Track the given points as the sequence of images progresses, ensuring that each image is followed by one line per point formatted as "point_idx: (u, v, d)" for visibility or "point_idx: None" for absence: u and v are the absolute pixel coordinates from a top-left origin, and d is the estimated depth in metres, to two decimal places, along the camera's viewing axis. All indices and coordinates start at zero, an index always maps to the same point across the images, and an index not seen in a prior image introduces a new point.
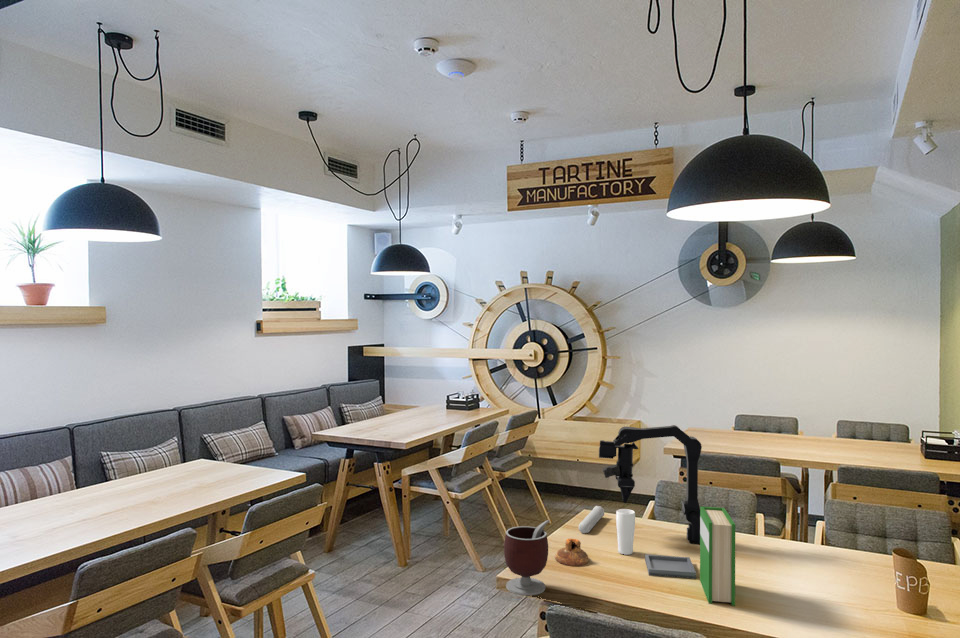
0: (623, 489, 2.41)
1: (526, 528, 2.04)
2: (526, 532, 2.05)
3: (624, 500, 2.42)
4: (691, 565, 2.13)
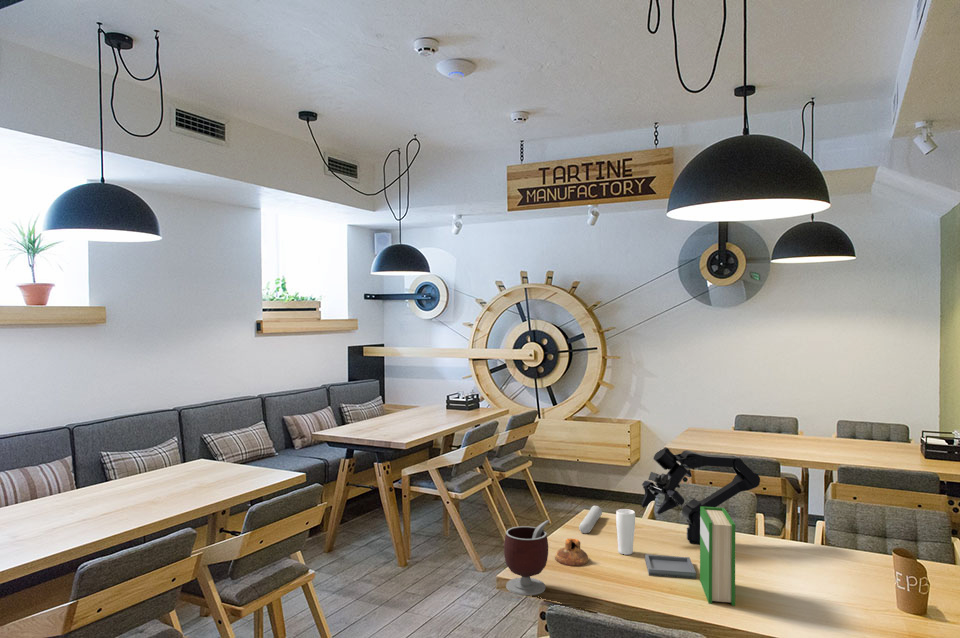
0: (667, 501, 2.33)
1: (526, 528, 2.04)
2: (526, 532, 2.05)
3: (659, 511, 2.33)
4: (691, 565, 2.13)
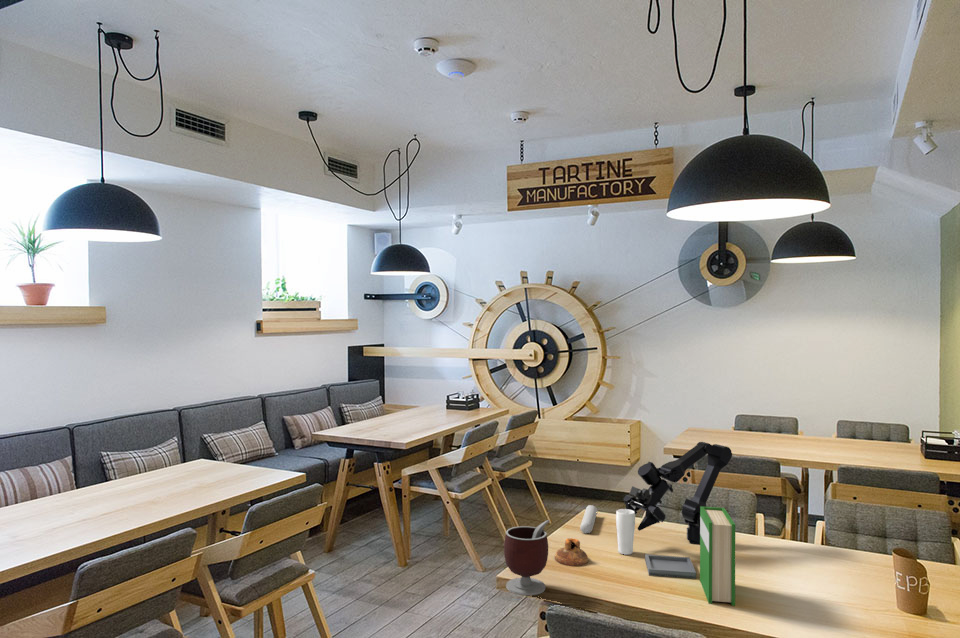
0: (648, 517, 2.26)
1: (526, 528, 2.04)
2: (526, 532, 2.05)
3: (640, 527, 2.26)
4: (691, 565, 2.13)
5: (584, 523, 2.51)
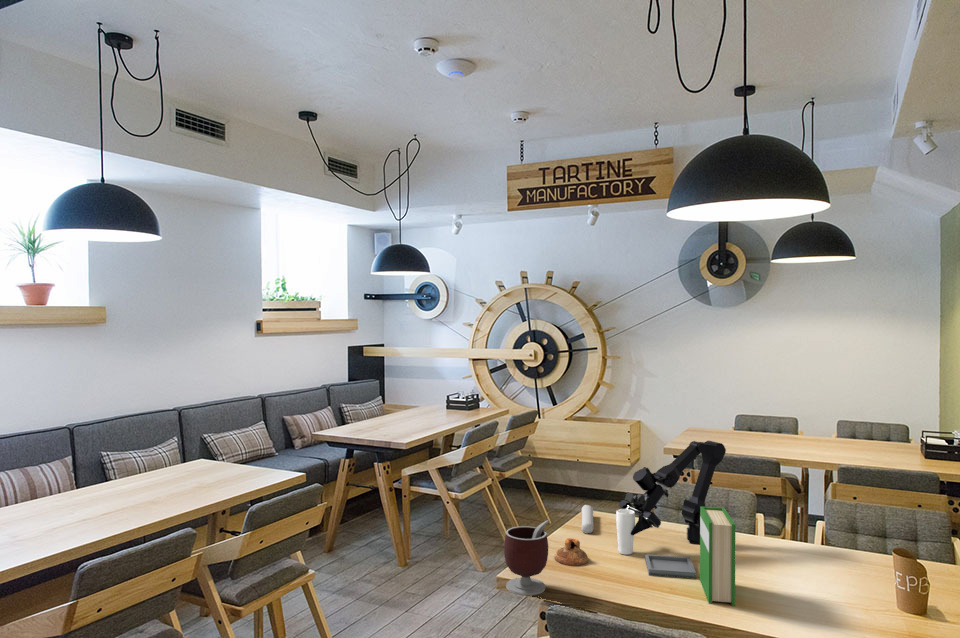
0: (641, 522, 2.27)
1: (526, 528, 2.04)
2: (526, 532, 2.05)
3: (633, 532, 2.27)
4: (691, 565, 2.13)
5: (585, 523, 2.51)
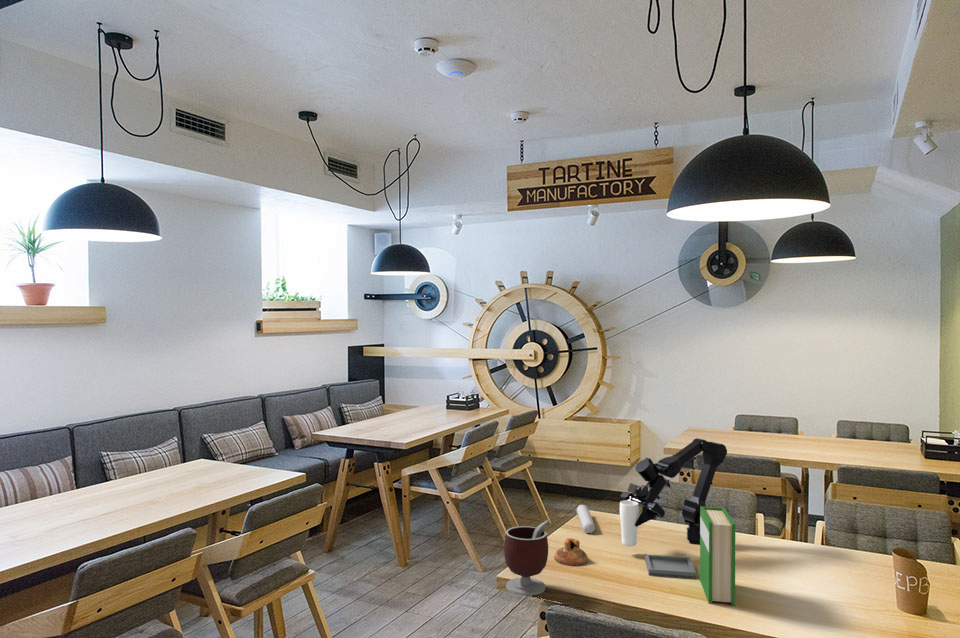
0: (645, 513, 2.25)
1: (526, 528, 2.04)
2: (526, 532, 2.05)
3: (637, 523, 2.25)
4: (691, 565, 2.13)
5: (587, 523, 2.51)
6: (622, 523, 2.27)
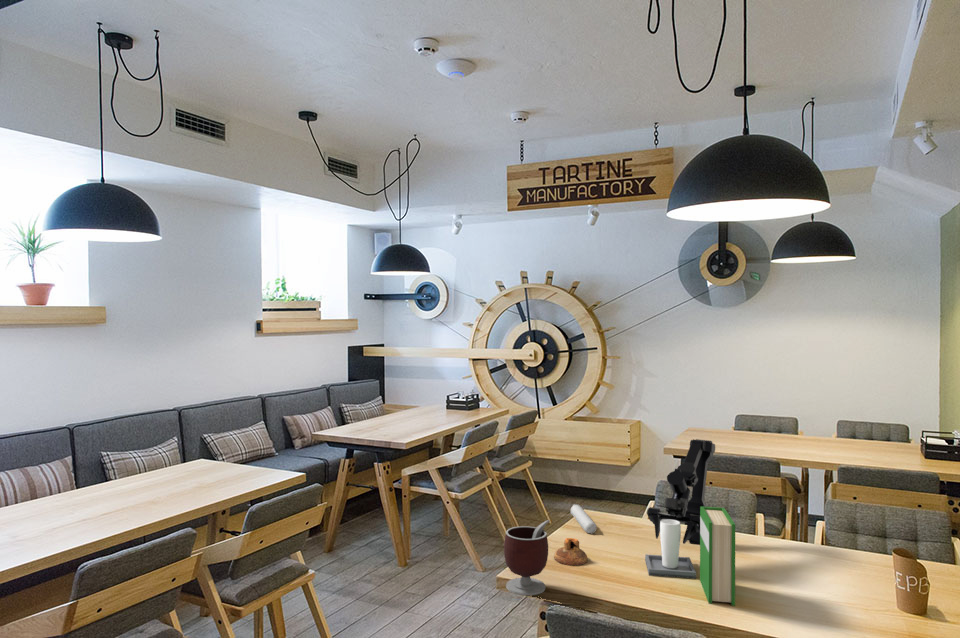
0: None
1: (526, 528, 2.04)
2: (526, 532, 2.05)
3: (685, 540, 2.12)
4: (691, 565, 2.13)
5: (589, 523, 2.51)
6: (667, 544, 2.12)
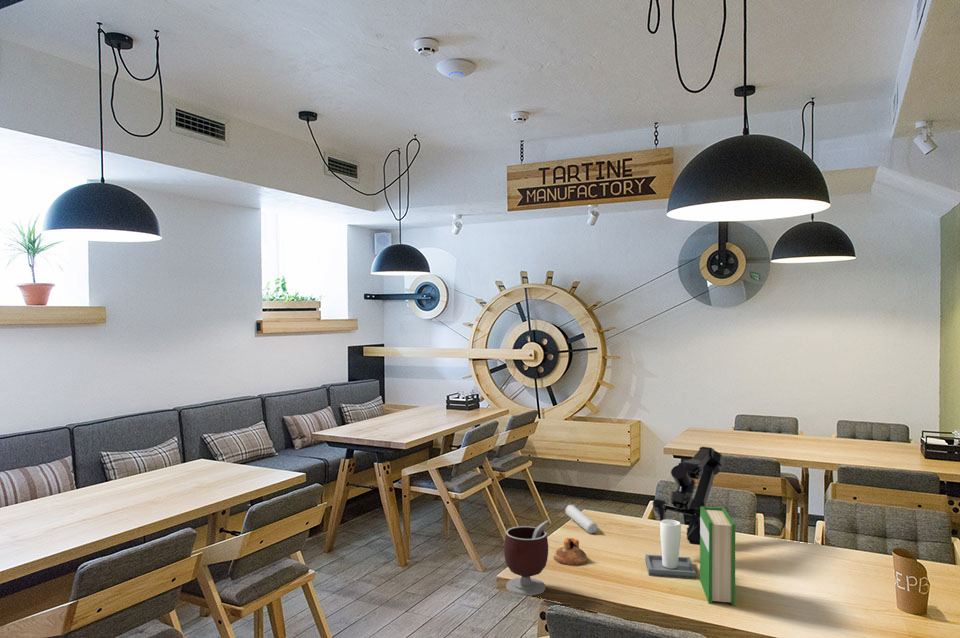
0: None
1: (526, 528, 2.04)
2: (526, 532, 2.05)
3: (689, 533, 2.21)
4: (691, 565, 2.13)
5: (591, 523, 2.51)
6: (667, 545, 2.12)
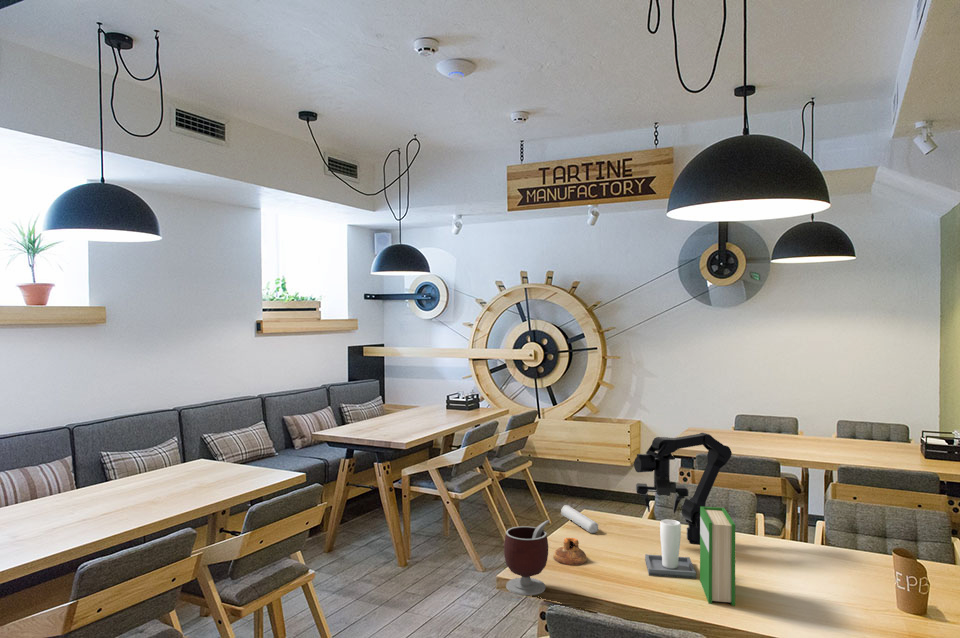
0: None
1: (526, 528, 2.04)
2: (526, 532, 2.05)
3: None
4: (691, 565, 2.13)
5: (592, 523, 2.51)
6: (667, 545, 2.12)
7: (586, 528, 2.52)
